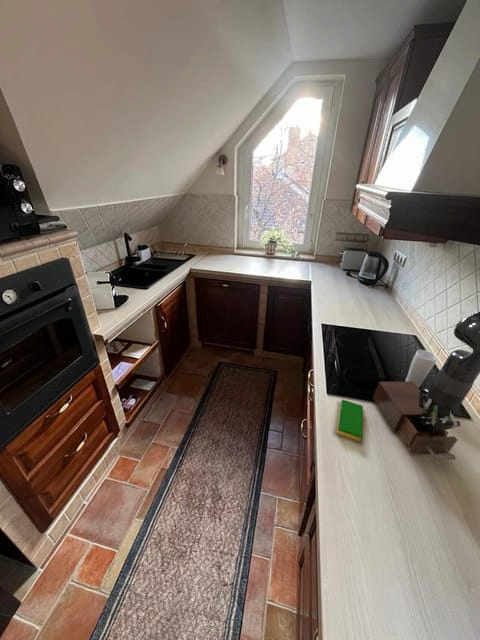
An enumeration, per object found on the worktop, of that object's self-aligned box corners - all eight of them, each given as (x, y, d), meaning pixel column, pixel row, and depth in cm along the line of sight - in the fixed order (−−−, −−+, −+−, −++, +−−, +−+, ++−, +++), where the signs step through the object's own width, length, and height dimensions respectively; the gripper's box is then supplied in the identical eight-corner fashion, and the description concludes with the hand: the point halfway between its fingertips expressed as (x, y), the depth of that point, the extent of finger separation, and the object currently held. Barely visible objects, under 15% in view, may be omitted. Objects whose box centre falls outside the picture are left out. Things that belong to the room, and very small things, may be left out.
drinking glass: (425, 391, 100) (440, 361, 93) (406, 388, 101) (421, 359, 94) (417, 379, 106) (431, 350, 99) (400, 377, 107) (413, 348, 100)
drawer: (458, 468, 73) (469, 453, 70) (419, 468, 73) (428, 454, 69) (419, 417, 88) (427, 403, 85) (387, 417, 88) (393, 403, 85)
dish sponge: (361, 410, 91) (363, 405, 90) (359, 442, 80) (361, 437, 79) (340, 403, 94) (342, 399, 93) (336, 433, 83) (338, 428, 82)
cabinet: (430, 432, 84) (441, 414, 80) (392, 432, 84) (401, 414, 80) (404, 398, 97) (412, 381, 93) (372, 398, 97) (379, 381, 92)
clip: (430, 423, 79) (434, 415, 78) (437, 431, 77) (441, 424, 75) (414, 423, 79) (418, 415, 77) (420, 431, 77) (425, 424, 75)
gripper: (486, 406, 63) (454, 448, 72) (445, 368, 75) (423, 408, 84) (456, 406, 63) (429, 448, 72) (421, 368, 75) (401, 408, 84)
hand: (425, 426), depth 78 cm, fingers closed on clip, 3 cm apart
